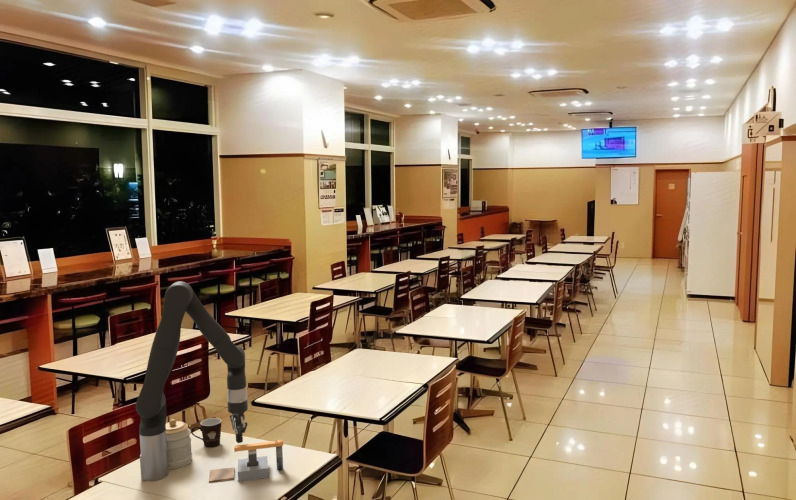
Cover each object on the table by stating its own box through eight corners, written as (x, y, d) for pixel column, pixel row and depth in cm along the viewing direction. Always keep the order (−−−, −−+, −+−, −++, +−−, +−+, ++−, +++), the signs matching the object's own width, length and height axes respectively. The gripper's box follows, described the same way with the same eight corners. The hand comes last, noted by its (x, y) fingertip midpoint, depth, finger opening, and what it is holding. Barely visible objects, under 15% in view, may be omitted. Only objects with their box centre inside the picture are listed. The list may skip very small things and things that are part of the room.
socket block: (238, 481, 226) (237, 472, 226) (238, 468, 237) (238, 459, 237) (268, 477, 229) (268, 468, 229) (267, 464, 240) (267, 456, 239)
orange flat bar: (283, 443, 236) (282, 439, 236) (283, 446, 233) (283, 442, 233) (234, 448, 232) (234, 445, 232) (234, 452, 229) (234, 448, 229)
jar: (193, 466, 239) (190, 422, 238) (157, 472, 235) (155, 427, 233) (191, 453, 252) (189, 411, 250) (157, 458, 247) (154, 416, 245)
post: (276, 471, 234) (276, 447, 233) (276, 468, 236) (275, 444, 235) (283, 470, 234) (282, 446, 233) (282, 467, 237) (282, 444, 236)
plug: (249, 475, 231) (248, 452, 230) (249, 471, 234) (248, 448, 233) (257, 474, 232) (256, 451, 231) (257, 470, 235) (256, 447, 234)
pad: (208, 482, 226) (208, 480, 226) (210, 471, 234) (210, 470, 234) (234, 479, 228) (234, 477, 228) (234, 468, 237) (234, 467, 236)
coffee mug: (225, 440, 263) (224, 418, 262) (218, 449, 255) (216, 426, 254) (199, 440, 264) (198, 417, 263) (191, 448, 256) (189, 425, 255)
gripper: (221, 396, 238) (224, 439, 240) (234, 405, 228) (236, 450, 229) (240, 392, 243) (242, 434, 244) (253, 401, 232) (255, 445, 234)
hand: (239, 442), depth 237 cm, fingers closed
